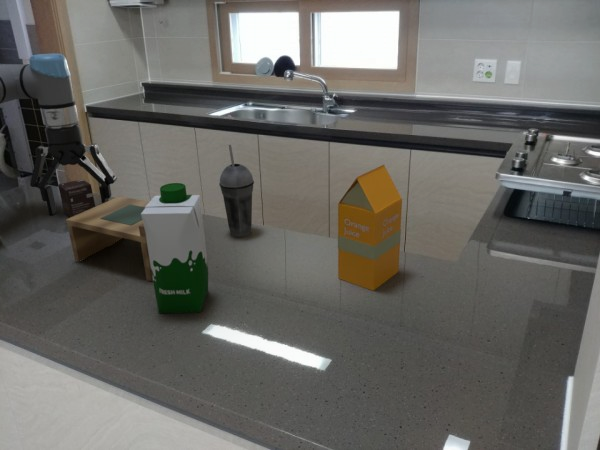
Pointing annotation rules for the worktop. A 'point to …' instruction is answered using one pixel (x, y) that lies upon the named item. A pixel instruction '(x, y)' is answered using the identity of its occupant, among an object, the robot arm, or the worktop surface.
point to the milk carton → (176, 249)
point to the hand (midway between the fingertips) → (80, 212)
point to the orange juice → (369, 230)
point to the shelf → (109, 228)
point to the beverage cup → (237, 197)
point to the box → (76, 197)
